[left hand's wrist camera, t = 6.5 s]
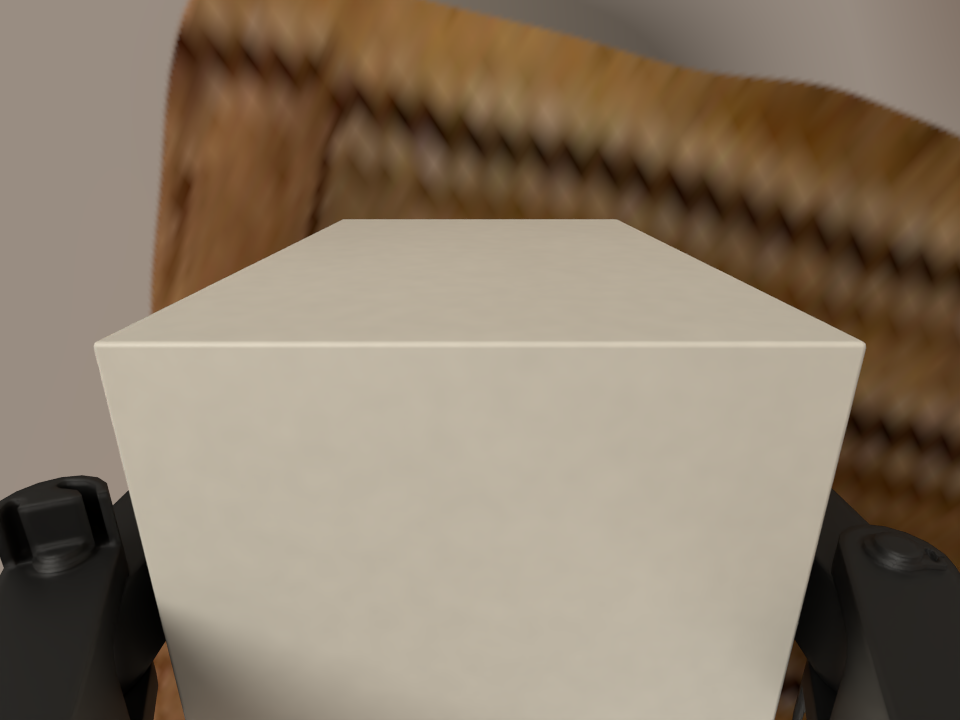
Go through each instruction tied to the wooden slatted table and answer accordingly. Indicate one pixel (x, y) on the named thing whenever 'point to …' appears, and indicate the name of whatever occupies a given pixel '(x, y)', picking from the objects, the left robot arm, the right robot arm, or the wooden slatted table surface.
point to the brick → (479, 476)
